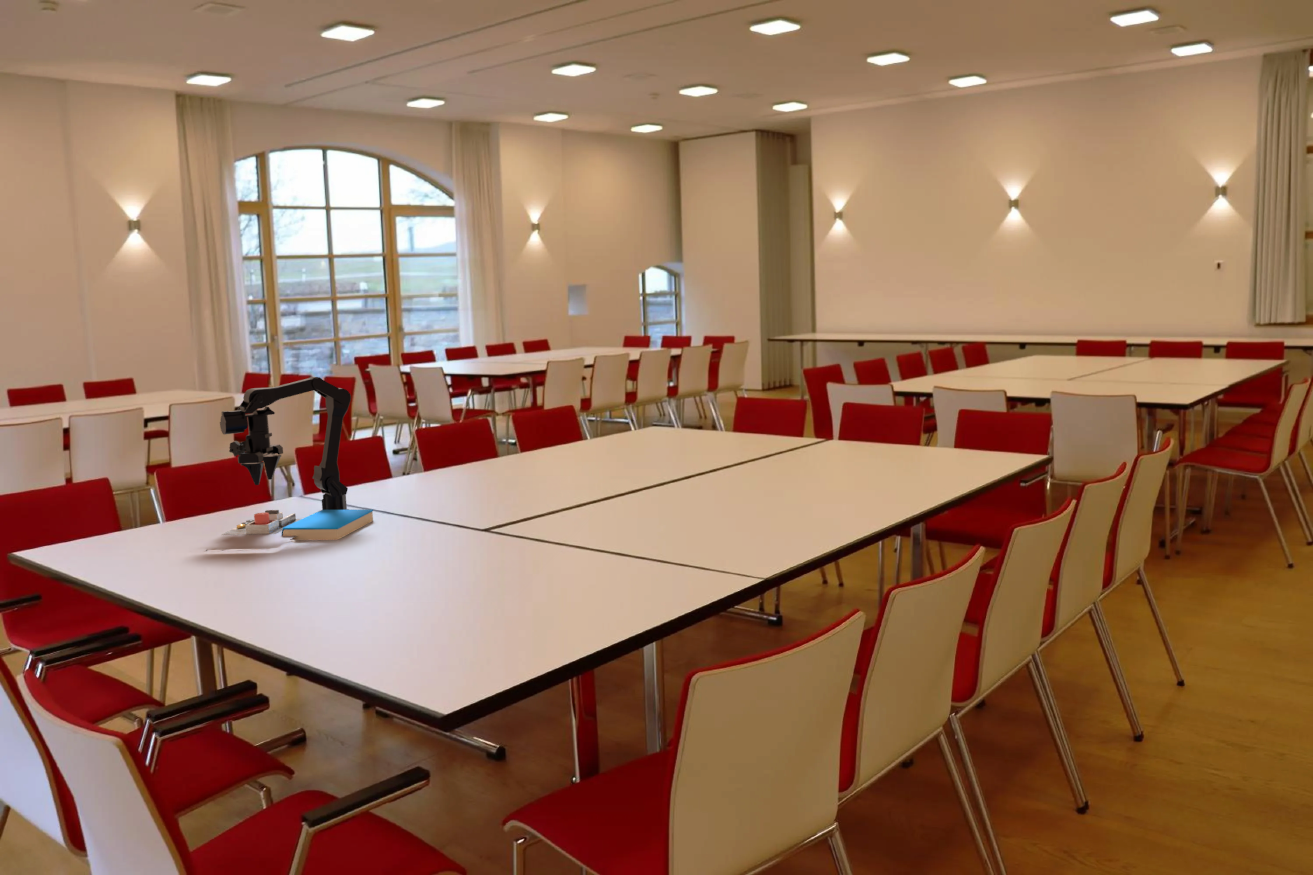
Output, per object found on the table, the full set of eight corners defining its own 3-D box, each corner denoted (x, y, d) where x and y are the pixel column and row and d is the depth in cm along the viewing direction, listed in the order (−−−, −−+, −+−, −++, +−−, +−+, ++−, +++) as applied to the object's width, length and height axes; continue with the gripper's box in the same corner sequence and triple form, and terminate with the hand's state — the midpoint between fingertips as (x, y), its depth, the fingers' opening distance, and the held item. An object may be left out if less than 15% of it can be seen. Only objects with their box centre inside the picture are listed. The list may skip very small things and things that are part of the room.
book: (373, 509, 326) (338, 526, 301) (374, 523, 326) (339, 541, 302) (319, 509, 328) (280, 526, 304) (320, 523, 329) (281, 541, 304)
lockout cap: (272, 529, 313) (271, 512, 313) (266, 532, 309) (265, 515, 309) (259, 529, 314) (257, 512, 313) (253, 532, 310) (251, 515, 309)
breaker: (283, 523, 320) (282, 508, 320) (277, 526, 316) (276, 511, 316) (268, 524, 320) (267, 509, 320) (262, 527, 317) (261, 512, 316)
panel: (303, 522, 327) (302, 510, 326) (275, 537, 307) (274, 525, 307) (252, 523, 328) (251, 511, 328) (221, 538, 308) (220, 526, 308)
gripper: (246, 427, 332) (251, 477, 335) (218, 435, 314) (223, 488, 316) (281, 426, 332) (286, 476, 334) (255, 434, 313) (260, 487, 315)
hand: (263, 482), depth 325 cm, fingers open, 9 cm apart
